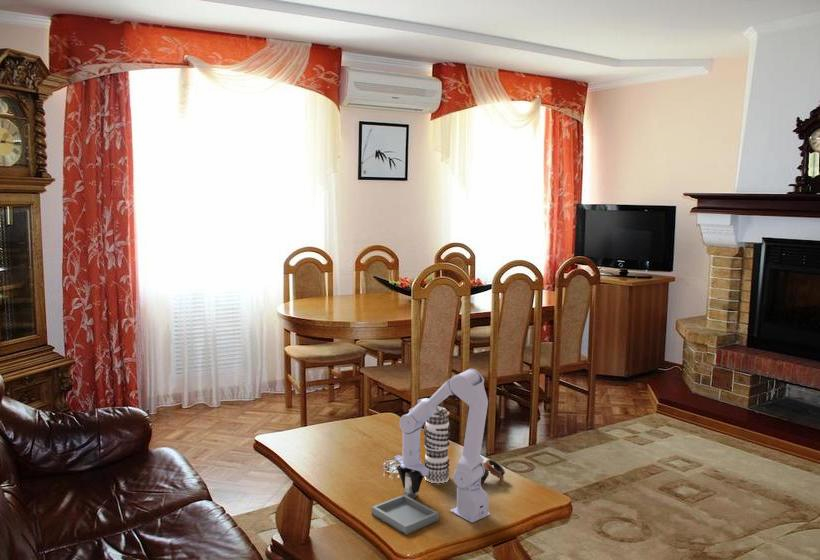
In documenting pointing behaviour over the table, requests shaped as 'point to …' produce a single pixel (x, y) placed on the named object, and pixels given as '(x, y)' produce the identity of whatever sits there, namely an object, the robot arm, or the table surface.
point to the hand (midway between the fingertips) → (411, 489)
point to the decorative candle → (437, 446)
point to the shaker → (409, 484)
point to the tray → (405, 514)
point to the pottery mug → (493, 471)
